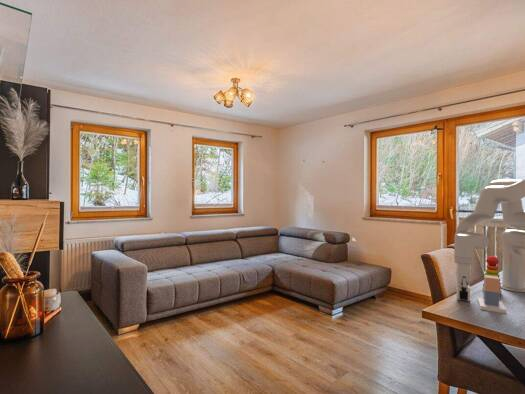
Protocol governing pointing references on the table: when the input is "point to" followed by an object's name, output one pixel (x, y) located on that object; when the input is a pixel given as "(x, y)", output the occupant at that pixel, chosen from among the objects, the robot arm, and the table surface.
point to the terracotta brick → (491, 283)
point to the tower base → (490, 307)
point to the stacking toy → (492, 268)
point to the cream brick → (459, 292)
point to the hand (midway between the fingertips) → (463, 297)
